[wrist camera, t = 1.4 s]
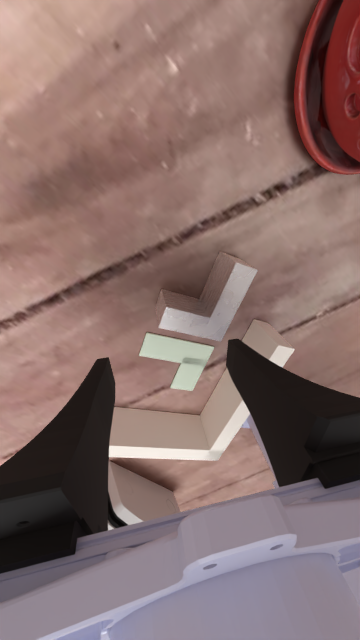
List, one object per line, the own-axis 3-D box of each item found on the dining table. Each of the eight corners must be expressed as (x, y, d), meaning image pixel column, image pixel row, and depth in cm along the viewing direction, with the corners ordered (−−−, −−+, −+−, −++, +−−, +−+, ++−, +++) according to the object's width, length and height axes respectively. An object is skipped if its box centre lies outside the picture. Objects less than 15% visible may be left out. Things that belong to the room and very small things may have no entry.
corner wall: (268, 322, 25) (295, 349, 21) (206, 425, 33) (217, 460, 29) (128, 285, 21) (126, 309, 16) (93, 415, 28) (85, 456, 24)
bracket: (179, 236, 19) (188, 245, 16) (237, 257, 21) (257, 270, 18) (155, 306, 22) (158, 327, 19) (208, 320, 24) (220, 341, 21)
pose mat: (213, 346, 26) (214, 347, 26) (191, 389, 29) (192, 391, 28) (146, 331, 23) (146, 333, 23) (130, 381, 26) (129, 382, 26)
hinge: (82, 475, 34) (87, 552, 25) (106, 451, 34) (118, 517, 26) (152, 504, 42) (174, 569, 33) (170, 484, 42) (196, 543, 34)
